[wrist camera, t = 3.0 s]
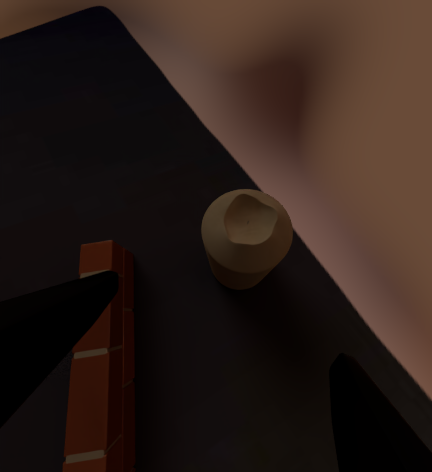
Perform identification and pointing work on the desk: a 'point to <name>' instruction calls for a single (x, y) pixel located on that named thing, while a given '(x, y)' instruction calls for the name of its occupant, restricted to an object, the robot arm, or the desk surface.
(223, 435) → the desk surface
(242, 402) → the desk surface
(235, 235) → the candle
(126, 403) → the brick wall
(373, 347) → the desk surface
